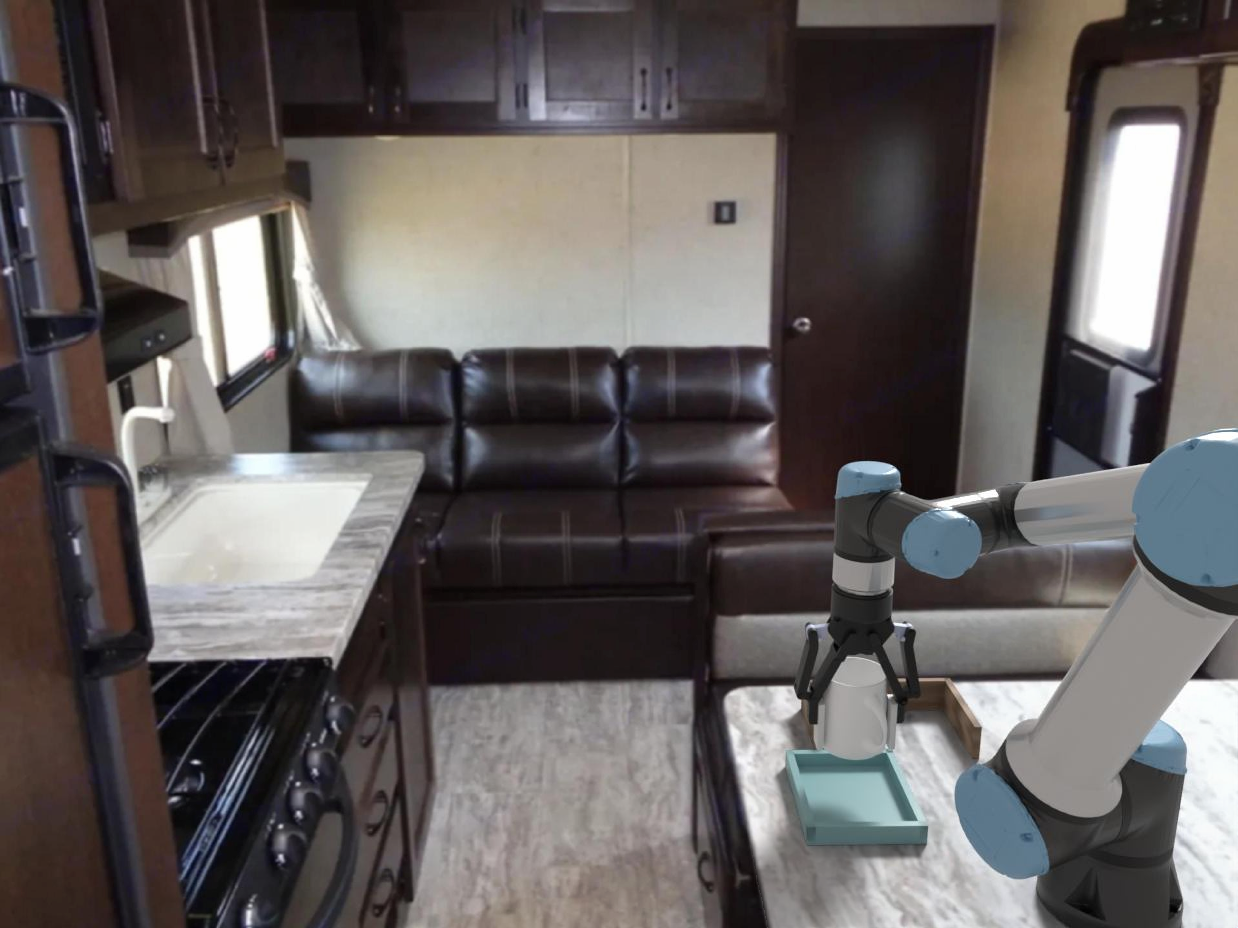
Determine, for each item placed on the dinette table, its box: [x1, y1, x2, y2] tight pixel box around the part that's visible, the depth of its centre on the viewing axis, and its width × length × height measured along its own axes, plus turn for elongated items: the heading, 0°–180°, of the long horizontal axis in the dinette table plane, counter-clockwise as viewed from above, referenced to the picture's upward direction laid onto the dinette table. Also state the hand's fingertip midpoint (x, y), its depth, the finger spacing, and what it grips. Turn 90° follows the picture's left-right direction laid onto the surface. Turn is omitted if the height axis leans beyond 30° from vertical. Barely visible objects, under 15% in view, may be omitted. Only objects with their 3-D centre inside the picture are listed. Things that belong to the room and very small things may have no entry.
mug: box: [822, 656, 888, 760], centre depth 135 cm, size 9×12×11 cm
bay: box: [800, 677, 983, 759], centre depth 155 cm, size 15×23×5 cm, turn 90°
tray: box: [784, 748, 929, 846], centre depth 138 cm, size 18×15×3 cm
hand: (853, 743), depth 136 cm, fingers closed on mug, 9 cm apart
